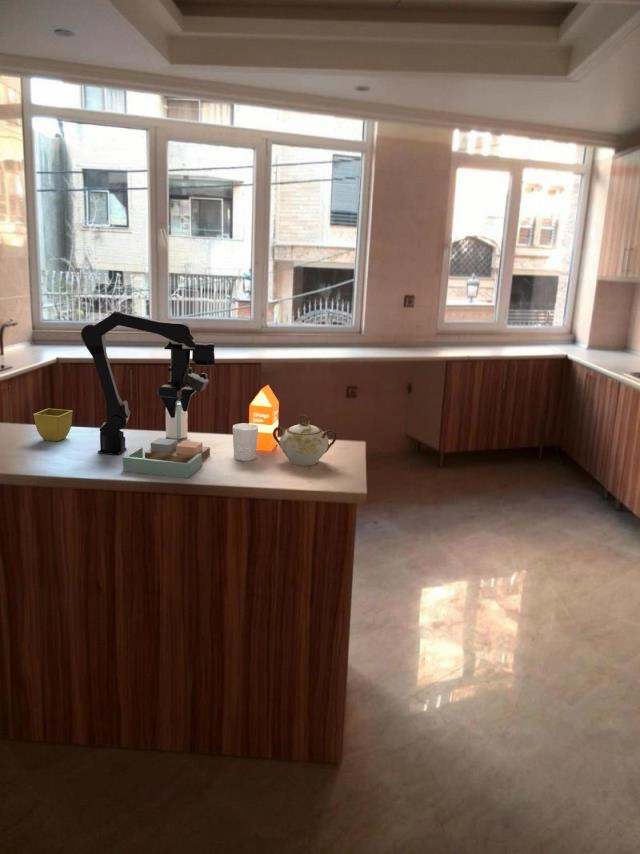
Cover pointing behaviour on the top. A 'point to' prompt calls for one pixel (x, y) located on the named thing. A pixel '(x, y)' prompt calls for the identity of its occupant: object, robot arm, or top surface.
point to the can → (176, 423)
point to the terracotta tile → (189, 448)
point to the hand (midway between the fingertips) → (179, 414)
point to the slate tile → (164, 445)
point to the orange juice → (265, 418)
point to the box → (160, 465)
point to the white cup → (245, 441)
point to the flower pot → (53, 423)
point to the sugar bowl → (304, 442)
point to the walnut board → (175, 455)
